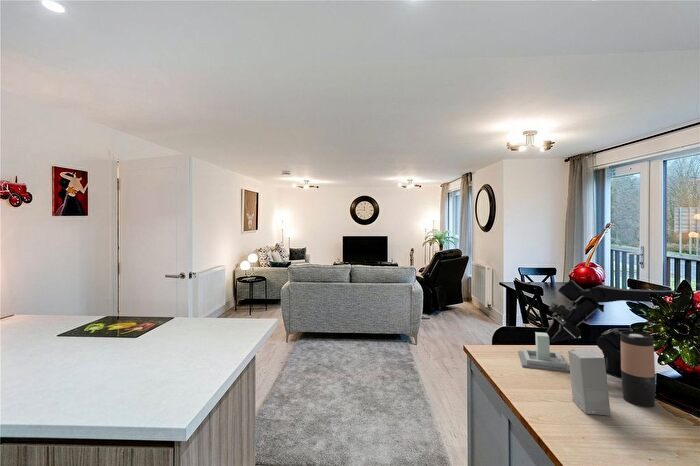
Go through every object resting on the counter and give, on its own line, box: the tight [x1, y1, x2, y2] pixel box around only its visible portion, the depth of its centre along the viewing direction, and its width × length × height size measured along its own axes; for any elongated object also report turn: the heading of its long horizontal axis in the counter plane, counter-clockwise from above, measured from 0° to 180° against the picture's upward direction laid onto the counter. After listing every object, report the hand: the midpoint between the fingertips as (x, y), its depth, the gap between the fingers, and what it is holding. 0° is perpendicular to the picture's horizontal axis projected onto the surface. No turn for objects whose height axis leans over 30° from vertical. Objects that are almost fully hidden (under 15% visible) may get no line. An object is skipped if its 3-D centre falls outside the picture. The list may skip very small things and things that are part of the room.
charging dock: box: [517, 348, 570, 373], centre depth 130 cm, size 16×16×2 cm
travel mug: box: [620, 330, 656, 408], centre depth 99 cm, size 8×8×20 cm
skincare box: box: [567, 349, 611, 416], centre depth 96 cm, size 8×7×16 cm
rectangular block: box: [534, 331, 551, 361], centre depth 130 cm, size 4×5×10 cm
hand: (548, 338), depth 129 cm, fingers open, 9 cm apart
